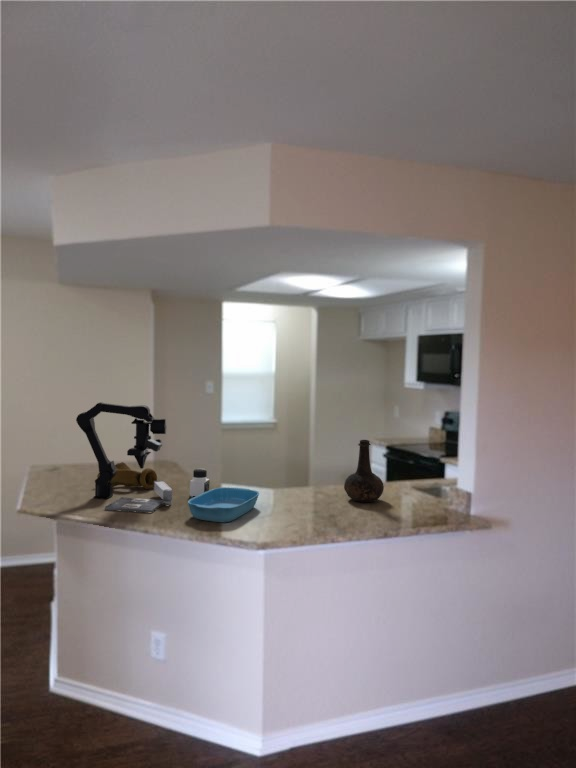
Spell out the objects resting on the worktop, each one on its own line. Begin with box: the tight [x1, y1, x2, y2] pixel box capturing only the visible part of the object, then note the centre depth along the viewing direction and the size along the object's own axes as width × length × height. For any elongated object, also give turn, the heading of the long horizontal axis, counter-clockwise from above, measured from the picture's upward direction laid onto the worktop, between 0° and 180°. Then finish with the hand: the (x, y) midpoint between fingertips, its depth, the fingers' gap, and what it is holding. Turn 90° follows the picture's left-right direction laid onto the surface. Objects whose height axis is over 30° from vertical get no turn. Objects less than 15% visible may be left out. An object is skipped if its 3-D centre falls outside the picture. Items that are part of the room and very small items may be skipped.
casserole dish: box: [187, 486, 260, 523], centre depth 228 cm, size 37×22×7 cm, turn 161°
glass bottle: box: [343, 439, 385, 503], centre depth 255 cm, size 18×18×28 cm
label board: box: [104, 497, 172, 513], centre depth 232 cm, size 24×16×2 cm
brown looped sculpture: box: [96, 461, 158, 490], centre depth 265 cm, size 18×13×22 cm
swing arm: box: [153, 480, 173, 501], centre depth 243 cm, size 20×4×4 cm, turn 26°
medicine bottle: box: [189, 468, 210, 497], centre depth 254 cm, size 7×7×12 cm
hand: (141, 468), depth 247 cm, fingers closed
